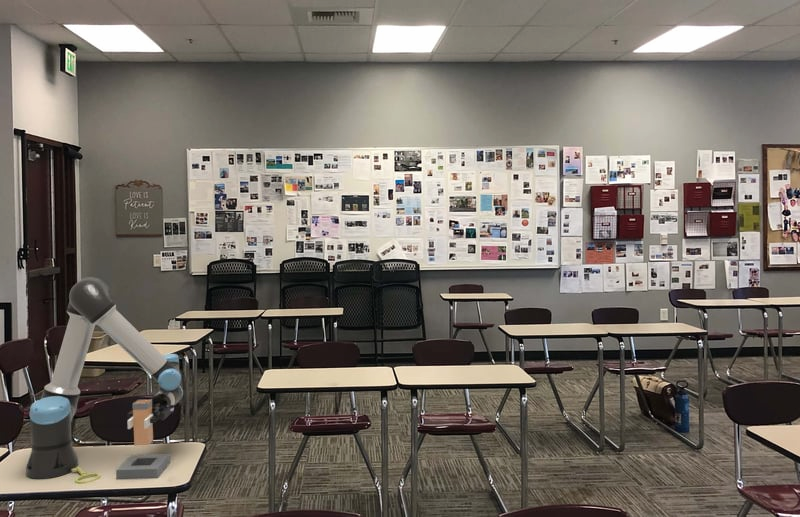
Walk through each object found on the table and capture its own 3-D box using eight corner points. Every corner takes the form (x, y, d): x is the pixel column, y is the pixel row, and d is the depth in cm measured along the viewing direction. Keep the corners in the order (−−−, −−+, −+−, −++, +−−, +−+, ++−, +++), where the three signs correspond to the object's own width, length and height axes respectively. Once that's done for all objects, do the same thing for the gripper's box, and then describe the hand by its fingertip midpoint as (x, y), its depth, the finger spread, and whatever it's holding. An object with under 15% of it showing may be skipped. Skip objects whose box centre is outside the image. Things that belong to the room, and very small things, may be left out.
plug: (133, 445, 200) (132, 403, 200) (139, 440, 205) (137, 399, 204) (148, 445, 201) (147, 403, 200) (153, 440, 205) (152, 399, 205)
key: (78, 471, 204) (78, 465, 204) (103, 478, 198) (102, 472, 198) (57, 479, 198) (57, 473, 197) (82, 487, 192) (82, 480, 192)
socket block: (116, 479, 196) (116, 470, 196) (131, 463, 209) (131, 455, 209) (157, 477, 197) (157, 468, 197) (170, 462, 210) (170, 453, 210)
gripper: (186, 413, 221) (165, 435, 198) (136, 414, 220) (109, 437, 197) (185, 392, 221) (164, 412, 197) (135, 394, 220) (108, 414, 196)
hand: (137, 424), depth 197 cm, fingers closed on plug, 4 cm apart
